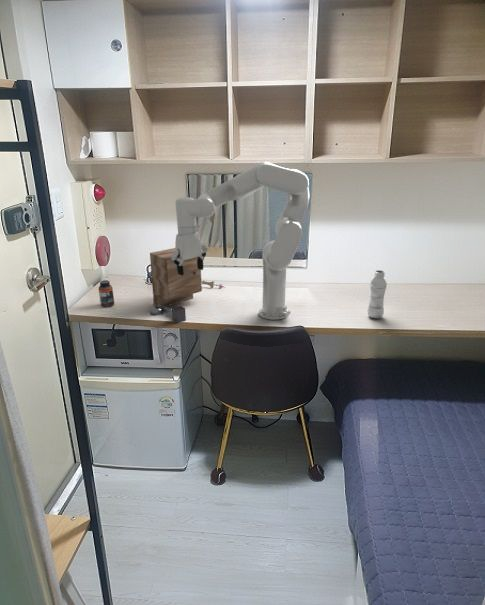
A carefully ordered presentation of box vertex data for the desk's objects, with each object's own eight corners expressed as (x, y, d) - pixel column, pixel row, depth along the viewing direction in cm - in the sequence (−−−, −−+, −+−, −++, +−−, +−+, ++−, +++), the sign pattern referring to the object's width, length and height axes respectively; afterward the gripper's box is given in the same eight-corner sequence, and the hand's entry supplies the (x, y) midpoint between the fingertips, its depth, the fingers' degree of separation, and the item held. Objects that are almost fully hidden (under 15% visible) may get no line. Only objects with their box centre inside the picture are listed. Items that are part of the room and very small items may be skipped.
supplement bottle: (107, 302, 209) (104, 278, 205) (117, 304, 206) (114, 280, 202) (97, 306, 204) (94, 282, 200) (108, 308, 201) (105, 284, 197)
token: (164, 313, 196) (163, 308, 195) (153, 316, 193) (153, 311, 192) (158, 310, 200) (158, 305, 199) (148, 313, 197) (147, 307, 196)
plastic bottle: (373, 321, 188) (379, 275, 180) (363, 315, 193) (368, 270, 186) (386, 319, 190) (392, 273, 183) (375, 313, 196) (380, 268, 188)
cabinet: (203, 303, 207) (201, 251, 198) (169, 313, 196) (166, 259, 187) (187, 295, 216) (184, 246, 208) (153, 304, 205) (149, 252, 197)
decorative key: (224, 294, 226) (185, 285, 229) (224, 293, 227) (186, 284, 230) (226, 281, 224) (187, 273, 226) (226, 281, 225) (188, 272, 227)
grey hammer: (185, 320, 189) (185, 308, 187) (177, 323, 187) (176, 310, 185) (162, 308, 202) (162, 296, 200) (155, 310, 199) (154, 298, 197)
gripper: (199, 225, 187) (202, 265, 193) (163, 232, 176) (167, 274, 182) (210, 227, 181) (213, 269, 188) (174, 235, 171) (178, 278, 177)
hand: (190, 271), depth 185 cm, fingers open, 9 cm apart
